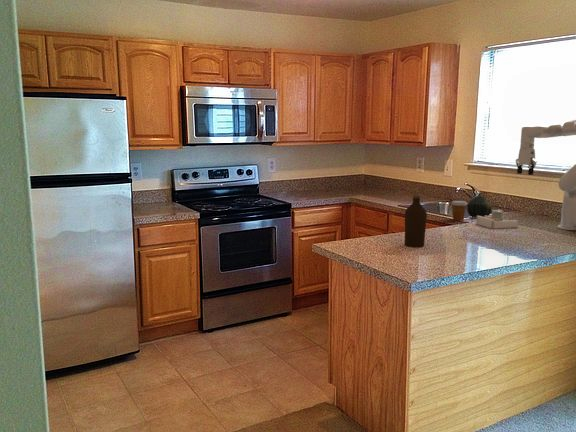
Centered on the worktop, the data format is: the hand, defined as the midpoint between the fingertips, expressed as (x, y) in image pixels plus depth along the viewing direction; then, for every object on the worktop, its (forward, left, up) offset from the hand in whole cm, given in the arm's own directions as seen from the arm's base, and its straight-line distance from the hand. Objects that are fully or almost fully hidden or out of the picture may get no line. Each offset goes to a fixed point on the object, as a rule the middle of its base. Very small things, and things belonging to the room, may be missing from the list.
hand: (525, 174), depth 315 cm
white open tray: (-8, +23, -30) cm, 39 cm away
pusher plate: (-8, +27, -30) cm, 41 cm away
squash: (+22, +15, -30) cm, 41 cm away
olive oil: (-46, +97, -30) cm, 112 cm away
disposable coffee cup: (+14, +35, -30) cm, 49 cm away
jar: (-8, +23, -30) cm, 39 cm away
